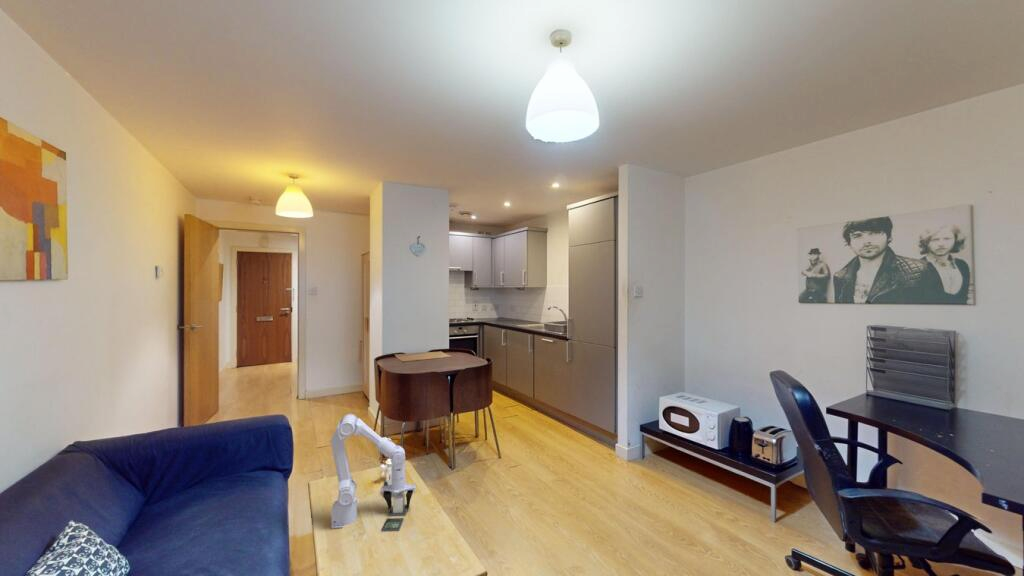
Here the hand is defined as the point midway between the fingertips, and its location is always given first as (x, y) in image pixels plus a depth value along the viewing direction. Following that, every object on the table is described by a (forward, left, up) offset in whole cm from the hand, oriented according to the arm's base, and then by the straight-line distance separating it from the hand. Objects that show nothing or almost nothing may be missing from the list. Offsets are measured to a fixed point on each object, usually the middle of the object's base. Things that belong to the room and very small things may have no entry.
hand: (399, 507), depth 171 cm
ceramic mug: (-7, +16, -3) cm, 18 cm away
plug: (0, 0, -2) cm, 2 cm away
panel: (0, -5, -3) cm, 6 cm away
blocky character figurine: (-12, +28, -3) cm, 31 cm away
